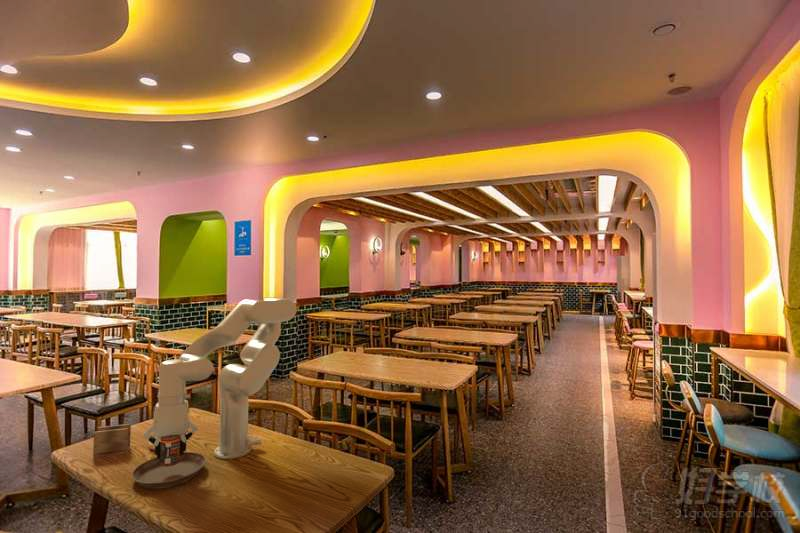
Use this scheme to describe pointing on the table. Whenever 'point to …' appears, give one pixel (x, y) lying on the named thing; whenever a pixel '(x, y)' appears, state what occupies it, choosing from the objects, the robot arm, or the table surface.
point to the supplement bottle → (170, 450)
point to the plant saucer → (168, 471)
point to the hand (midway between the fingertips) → (170, 454)
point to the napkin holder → (112, 440)
